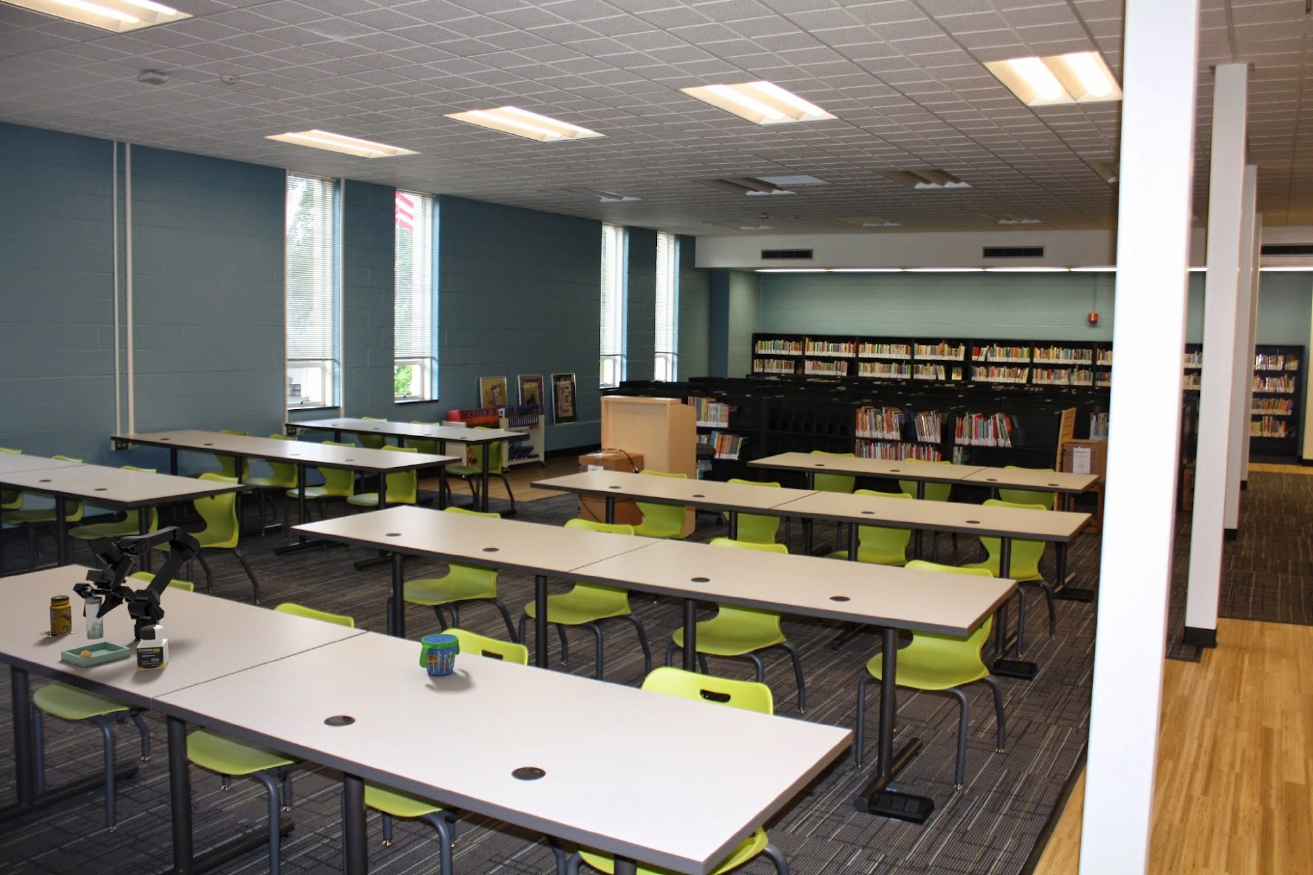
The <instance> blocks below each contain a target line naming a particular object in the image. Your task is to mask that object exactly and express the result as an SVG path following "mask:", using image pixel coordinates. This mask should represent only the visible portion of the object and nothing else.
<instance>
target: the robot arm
mask: <svg viewBox="0 0 1313 875" xmlns="http://www.w3.org/2000/svg"><path fill="white" fill-rule="evenodd" d="M165 543H167V545H168V546H169V556H168V558H167V559H166V561H165V562H164V563H163V565H162V566H161V567H160V569H159V570H158V571H157V573H156V574H155V575H154V577H153V579H152V580H151V581H150V582H149V584H148V585H147V586H146V588H144V589H142V588H137V589H136V590H135V591H134V590H133V589H132V588H131V587H130V586H129V585H126V583H127V579H126V577H127V575H128V573H129V572H130V570H131V568H133V569H137V568H138V563H137V560H136V558H132V557H131V556H133V557H142V555H144V554H146V553H148V552H149V550H150V549H151V548H153V547H157V546H159V545H162V544H165ZM200 550H201V543H200V541H199V539H198V538H196V537H195V536H193V535H191V534H189V533H188V532H186V531H184V529H182V528H181V527H179V526H166V527H165V528H162V529H159V530H155V531H153V532H150V533H147V534H144V535H134V536H133V535H131V536H123V537H121V538H120V539H119V541H116V539H115V538H114V537H113V536H105V538H104V539H102V540H100V541H98V543H96V544H95V545H94V546H93V550H92V551H93V552H92V553H94V554H95V556H97V557H98V558H99V559H100V560H101V561H102V562H103V563H104V564H105V565H109V566H108V567H107V568H105V569H102V570H98V569H87V573H86V576H85V581H90V582H93V583H92V584H93V585H94V586H96V587H94V586H92V585H91V584H90V583H89V582H76V583H75V584H74V585H73V588H72V591H73V592H75V593H76V595H78V596H79V597H80V598H81V599H84V600H85V598H88V597H95V596H104V600H103V601H102V606H101V608H100V610H99V611H98V614H97V616H96V617H97V618H101V617H102V616H103V617H105V615H107V614H108V613H109V612H111V611H113V609H115V608H118V606H120V605H124V602H125V603H127V611H128V615H129V617H130V619H131V620H132V621H133V620H135V624H133V631H134V641H141V634H140V630H141V628H143V627H145V626H148V625H160V620H162V619H164V617H165V610H164V609H163V608H162V607H161V596H162V594H163V593H164V592H165V590H166V589H167V587H168V586H169V584H170V583H171V582H172V581H173V578H174V577H175V576H176V575H177V574H178V572H179V571H180V569H181V568H182V566H183V565H184V564H185V563H187V562H189V561H191V560H193V558H194V557H195V556H196V555H197V554H199V552H200ZM122 584H125V585H122ZM82 617H84V618H86V607H85V604H84V605H83V612H82Z"/></svg>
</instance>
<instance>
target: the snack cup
mask: <svg viewBox="0 0 1313 875" xmlns="http://www.w3.org/2000/svg"><path fill="white" fill-rule="evenodd" d="M420 643H421V646H422V648H421V650H420V656H419V662H418V663H419V666H420V667H421V668H423V669H426V672H427V673H428V674H429V675H431V676H446V675H449V674H451V673H452V672H454V667H455V662H456V661H455V660H456V656H457V655H460V651H461V647H460V640H459V636H457V635H456V634H452V633H450V634H449V633H434V634H429V635H426V636H425V635H424V636H423V637H422V638H421V640H420Z"/></svg>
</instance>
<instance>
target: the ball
mask: <svg viewBox="0 0 1313 875" xmlns="http://www.w3.org/2000/svg"><path fill="white" fill-rule="evenodd" d="M91 656H92V654H91V652H90V651H88V650H85V651H83V652H82V653H81V654H80V657H83V658H89V657H91Z"/></svg>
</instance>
